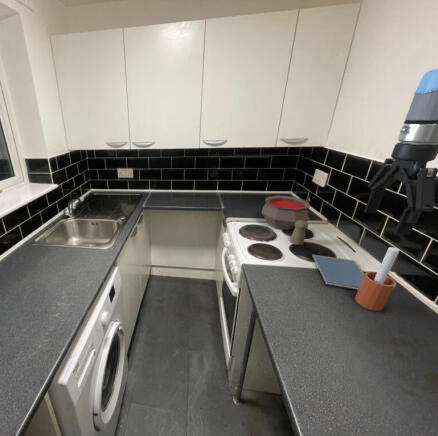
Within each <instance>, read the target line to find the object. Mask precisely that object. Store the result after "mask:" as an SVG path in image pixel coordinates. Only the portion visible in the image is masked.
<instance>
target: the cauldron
mask: <svg viewBox="0 0 438 436" xmlns="http://www.w3.org/2000/svg"><path fill="white" fill-rule="evenodd" d="M310 202H311V198H310V197H307V198H306V200H305V199H302V198H299V197H296V196H289V195H288V196H287V195H279V194H277V195H271V196H266V198H265V204H264V205H263V207H262V210H261V214H262V216H263V217H264V219H265V222H266V223H267V224H268V226H271V227H273V228H274V229H278V230H281V231H282V230H283V231H292V230H294V229H295V222H296V221H298V220H302V221H305V222H308V221H309V220H310V217H309V213H308V209H310V207H311V206H310Z"/></svg>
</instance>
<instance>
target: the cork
mask: <svg viewBox="0 0 438 436" xmlns="http://www.w3.org/2000/svg"><path fill="white" fill-rule="evenodd" d="M308 227H309V224H308V221H306V222H305V221H302V220H298V221H296V222H295V229H293V231H292V234H291V236H290V239H289V242H290V243H291V244H293V245H297V246H303V245H304V244H305V240H306V239H305V238H306V230H307V228H308Z"/></svg>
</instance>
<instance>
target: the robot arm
mask: <svg viewBox="0 0 438 436" xmlns="http://www.w3.org/2000/svg"><path fill="white" fill-rule="evenodd" d="M413 95H414V96H413V98H412V100H411V103H410V105H409V108H408V111H407V114H406V115H405V118H404V119H405V120H404V122H403V125H402V127H401V128H400V130H399V135H398V138H397V141H398V142H397V143H395V144H394V147H393V150H392V153H391V154H390V157H391V158H389V157H388V158H387V157H386V158H385V160H384V162H383V163H382V166H381V167H380V168H379V169H378V171H377V172H376V174H374V176H373V177H372V178H371V180H370V181H369V182H368V184H367V187H368V188H370V191H371V192H370V194H369V198H368V200H367V203H366V206H365V208H364V212H363V213H365V214H377V213H378V210H379V208H380V205H381V203H382V200H383V197H384V195H385V192H386V189H387V188H389V187H390V186H391V185H393V184H394V183H395V182H396V181H399V182H401V184H402V185H403V186H404V188H405V189H404V190H405V195H406V200H407V201H406V202H407V207H406V208H403V211H402V214H401V216H400V218H399V221H398V223H397V225H396V227H395V229H394V232H393V233H394V234H398V235H400V234H401V235H410V234H411V233H412V231H413V228H414V226H415V224H417V223H418V222H419V221H418V220H419V219H420V217H421V215H422V213H423V212H433V211H434V210H435V195H436V194H435V191H436V178H437V175H438V167H427V164H428V163H429V162H433V161H434V160H436V158H437V156H438V68H433V69H430V70H428V71H426V72H425V73H424V74H423V75H422V77H421V79H420V81H419V83H418V85H417V87H416V90H415V91H414V93H413Z"/></svg>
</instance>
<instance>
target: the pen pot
mask: <svg viewBox="0 0 438 436" xmlns="http://www.w3.org/2000/svg"><path fill="white" fill-rule="evenodd" d="M377 272H378V271H377ZM377 272H376V271H366V272H364V274H365V275H364V277H363V279H362V282H361V284H360V286H359V289H358V291H356V294H355V296H354V301H355V302H356V303H357V304H358V305H359V306H361V307H363V308H364V309H367V310H370V311H374V312H381V311H383V310H384V309H385V307H386V305H387V303H388V301H389V299H390V298H391V296H392V293H393V292H394V290H395V288H396V286H397V281H395V280H394V279H393V278H391V277H390V276H389V275H387V277H386V279H385V281H384V283H383V284H380V283H377V282H375V281H374V279H375V277H376V275H377Z"/></svg>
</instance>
